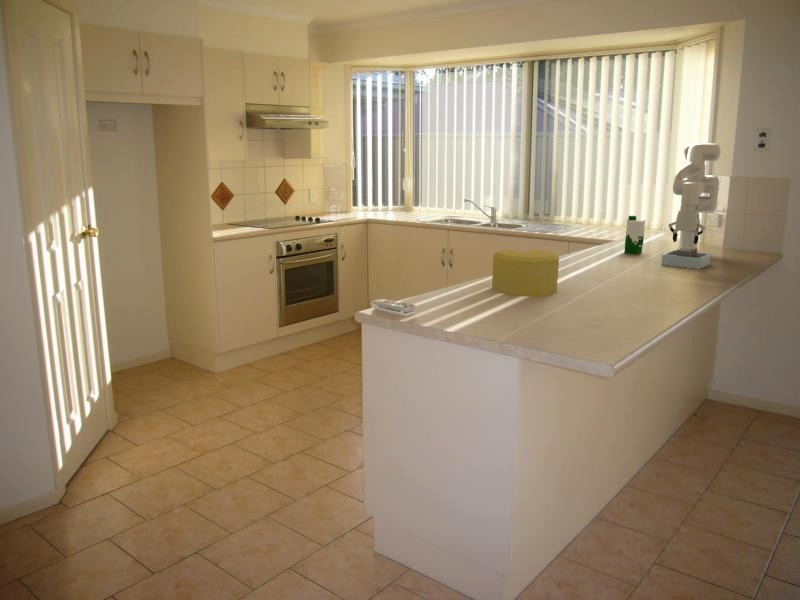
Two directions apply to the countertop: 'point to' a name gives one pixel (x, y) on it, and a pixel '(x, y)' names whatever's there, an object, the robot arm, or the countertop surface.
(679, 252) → the charcoal block
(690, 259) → the bin
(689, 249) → the walnut block
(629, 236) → the soya milk
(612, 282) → the countertop surface
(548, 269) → the cheese
